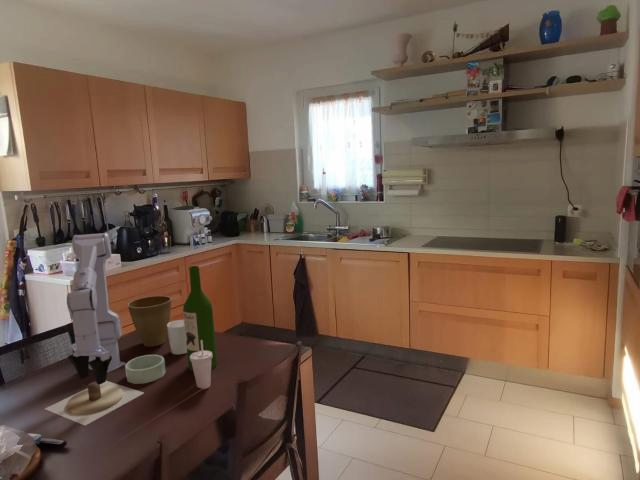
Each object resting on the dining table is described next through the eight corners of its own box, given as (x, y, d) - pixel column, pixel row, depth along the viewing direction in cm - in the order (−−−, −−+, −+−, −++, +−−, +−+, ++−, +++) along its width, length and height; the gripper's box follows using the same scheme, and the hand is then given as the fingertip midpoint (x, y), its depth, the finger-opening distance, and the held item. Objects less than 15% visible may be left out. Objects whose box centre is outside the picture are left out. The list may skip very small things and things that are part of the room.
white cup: (172, 347, 162) (169, 320, 160) (195, 345, 163) (192, 318, 161) (167, 356, 154) (164, 328, 153) (190, 354, 155) (188, 326, 153)
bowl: (119, 381, 138) (117, 366, 137) (148, 366, 147) (147, 352, 146) (143, 388, 132) (142, 373, 132) (172, 372, 142) (171, 358, 141)
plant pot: (183, 337, 171) (179, 296, 168) (156, 353, 157) (151, 308, 155) (152, 333, 176) (147, 294, 174) (123, 348, 162) (118, 305, 160)
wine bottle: (182, 370, 143) (172, 269, 138) (200, 358, 151) (191, 263, 146) (206, 373, 140) (196, 271, 134) (222, 361, 148) (214, 264, 142)
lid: (55, 407, 123) (53, 390, 122) (102, 384, 135) (100, 369, 134) (87, 419, 116) (85, 402, 115) (133, 394, 128) (132, 378, 127)
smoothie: (209, 392, 128) (205, 345, 126) (188, 390, 129) (183, 344, 127) (218, 381, 134) (214, 336, 132) (198, 380, 136) (194, 335, 133)
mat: (44, 410, 122) (44, 408, 122) (104, 381, 137) (104, 380, 137) (85, 427, 113) (85, 425, 113) (144, 394, 128) (144, 392, 128)
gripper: (56, 334, 122) (62, 381, 124) (89, 342, 115) (95, 392, 117) (80, 325, 128) (87, 370, 130) (113, 332, 121) (119, 380, 123)
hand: (92, 380), depth 124 cm, fingers open, 7 cm apart
